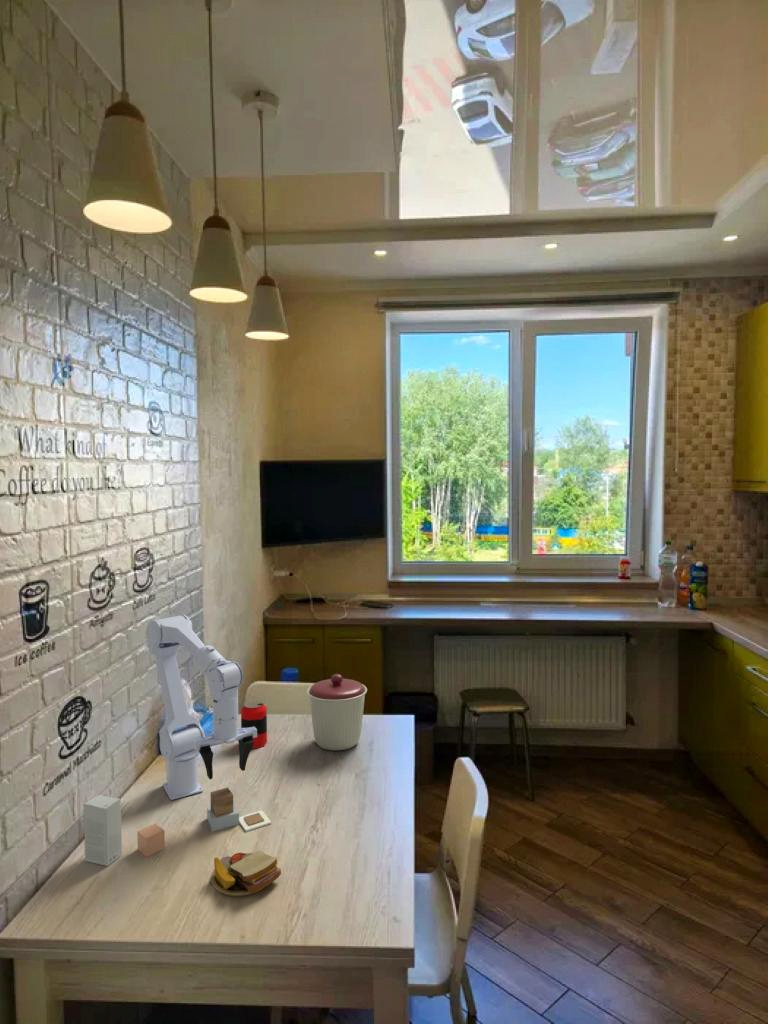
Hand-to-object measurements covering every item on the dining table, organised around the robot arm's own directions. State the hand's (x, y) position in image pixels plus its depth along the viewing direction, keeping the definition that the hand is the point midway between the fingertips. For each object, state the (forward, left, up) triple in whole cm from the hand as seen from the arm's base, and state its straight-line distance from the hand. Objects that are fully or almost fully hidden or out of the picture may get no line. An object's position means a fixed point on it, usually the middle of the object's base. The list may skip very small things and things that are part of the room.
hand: (226, 773), depth 138 cm
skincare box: (+3, -27, -10) cm, 29 cm away
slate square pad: (+3, -2, -10) cm, 11 cm away
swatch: (+7, +4, -10) cm, 13 cm away
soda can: (-34, +19, -10) cm, 41 cm away
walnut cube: (+3, -2, -7) cm, 8 cm away
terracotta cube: (+5, -18, -10) cm, 21 cm away
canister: (-20, +40, -10) cm, 46 cm away
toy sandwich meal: (+25, -4, -10) cm, 27 cm away
